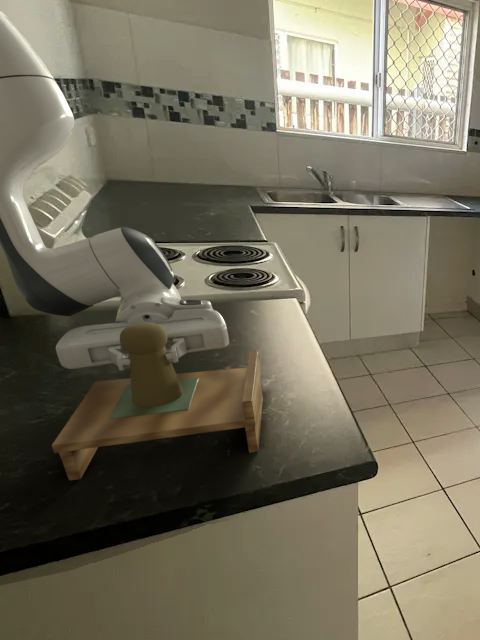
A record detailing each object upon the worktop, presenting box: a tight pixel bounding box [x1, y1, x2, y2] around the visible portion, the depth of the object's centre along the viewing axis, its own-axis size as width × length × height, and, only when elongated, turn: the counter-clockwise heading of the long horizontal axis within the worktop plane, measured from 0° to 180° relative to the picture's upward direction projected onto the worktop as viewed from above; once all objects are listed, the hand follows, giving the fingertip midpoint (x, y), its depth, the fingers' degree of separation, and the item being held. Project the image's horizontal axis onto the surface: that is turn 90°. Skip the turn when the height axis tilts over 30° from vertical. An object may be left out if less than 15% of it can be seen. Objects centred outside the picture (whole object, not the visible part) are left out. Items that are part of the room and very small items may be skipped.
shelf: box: [51, 349, 264, 481], centre depth 69 cm, size 22×16×9 cm
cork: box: [120, 323, 183, 407], centre depth 66 cm, size 6×6×11 cm
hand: (148, 361), depth 65 cm, fingers closed on cork, 4 cm apart
